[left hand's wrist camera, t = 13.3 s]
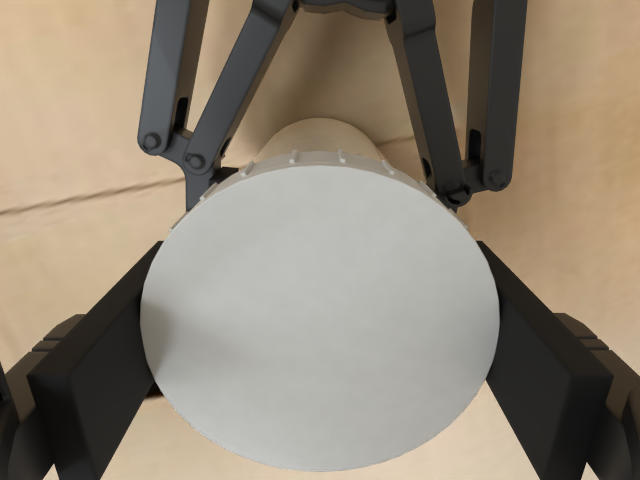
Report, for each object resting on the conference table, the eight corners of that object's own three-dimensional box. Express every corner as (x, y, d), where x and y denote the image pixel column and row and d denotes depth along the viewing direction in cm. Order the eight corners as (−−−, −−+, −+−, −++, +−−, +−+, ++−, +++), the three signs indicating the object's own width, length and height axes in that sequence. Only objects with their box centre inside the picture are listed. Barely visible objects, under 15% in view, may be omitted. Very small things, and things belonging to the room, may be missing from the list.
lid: (121, 173, 11) (82, 192, 9) (476, 123, 10) (509, 132, 9) (205, 436, 14) (188, 487, 12) (476, 407, 14) (500, 456, 12)
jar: (239, 128, 24) (119, 204, 10) (381, 107, 24) (478, 155, 9) (265, 257, 27) (204, 462, 13) (392, 241, 27) (477, 434, 12)
